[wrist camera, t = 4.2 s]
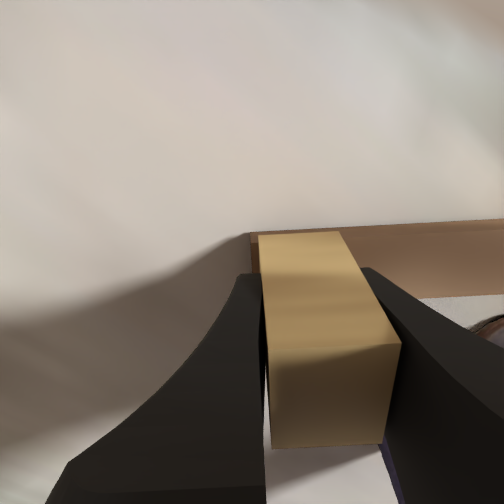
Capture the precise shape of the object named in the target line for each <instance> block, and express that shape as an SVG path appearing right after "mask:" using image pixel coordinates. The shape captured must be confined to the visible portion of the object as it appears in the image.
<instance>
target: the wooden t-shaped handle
mask: <svg viewBox="0 0 504 504" xmlns="http://www.w3.org/2000/svg"><path fill="white" fill-rule="evenodd" d="M250 241H251V260H252V273H261V279H262V289H263V314H264V338H265V362H266V379H267V392H268V406H269V419H270V432H271V446H272V449H288V448H307V447H327V446H346V445H366V444H382V441H383V436H384V431H385V425H386V420H387V415H388V410H389V405H390V400H391V395H392V390H393V385H394V380H395V375H396V369H397V364H398V359H399V354H400V349H401V344H402V343H401V341H400V339H399V337H398V335H397V334H396V332H395V330H394V328H393V327H392V325H391V323H390V321H389V320H388V318H387V316H386V314H385V312H384V311H383V309H382V307H381V305H380V304H379V302H378V300H377V298H376V297H375V295H374V293H373V291H372V289H371V288H370V286H369V284H368V282H367V281H366V279H365V277H364V275H363V274H362V272H361V270H360V268H364V267H370V268H372V269H373V270H375V271H377V272H378V273H380V274H381V275H383V276H384V277H385V278H387V279H388V280H390V281H391V282H393V283H394V284H396V285H397V286H398V287H400V288H401V289H403V290H404V291H406V292H407V293H409V294H410V295H412V296H413V297H415V298H416V299H421V298H440V297H459V296H478V295H497V294H504V219H491V220H472V221H453V222H434V223H415V224H397V225H378V226H359V227H340V228H321V229H302V230H284V231H265V232H250Z"/></svg>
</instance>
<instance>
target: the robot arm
mask: <svg viewBox="0 0 504 504" xmlns="http://www.w3.org/2000/svg"><path fill="white" fill-rule="evenodd" d="M360 270H361V272H362V274H363V275H364V277H365V279H366V281H367V282H368V284H369V286H370V288H371V289H372V291H373V293H374V295H375V297H376V298H377V300H378V302H379V304H380V305H381V307H382V309H383V311H384V312H385V314H386V316H387V318H388V320H389V321H390V323H391V325H392V327H393V328H394V330H395V332H396V334H397V335H398V337H399V339H400V341H401V343H402V344H401V349H400V354H399V359H398V364H397V369H396V375H395V380H394V385H393V390H392V395H391V400H390V405H389V410H388V415H387V420H386V425H385V431H384V435H385V438H386V441H387V444H388V447H389V451H390V454H391V457H392V460H393V464H394V467H395V470H396V473H397V477H398V480H399V483H400V487H401V490H402V494H403V497H404V501H405V504H504V348H502V347H500V346H498V345H496V344H494V343H492V342H490V341H488V340H486V339H484V338H482V337H480V336H478V335H476V334H474V333H473V332H471V331H469V330H467V329H465V328H463V327H462V326H460V325H458V324H456V323H455V322H453V321H451V320H450V319H448V318H446V317H445V316H443V315H441V314H439V313H438V312H436V311H435V310H433V309H431V308H430V307H428V306H427V305H425V304H424V303H422V302H421V301H419V300H418V299H416V298H415V297H413V296H412V295H410V294H409V293H407V292H406V291H404V290H403V289H401V288H400V287H398V286H397V285H396V284H394V283H393V282H391V281H390V280H388V279H387V278H385V277H384V276H383V275H381V274H380V273H378V272H377V271H375V270H373V269H372V268H370V267H364V268H360ZM265 365H266V362H265V338H264V314H263V289H262V279H261V273H251V274H240V275H239V276H238V277H237V279H236V282H235V285H234V287H233V290H232V292H231V294H230V296H229V298H228V300H227V302H226V304H225V305H224V307H223V309H222V311H221V312H220V314H219V316H218V318H217V319H216V321H215V322H214V324H213V325H212V327H211V328H210V330H209V331H208V333H207V334H206V336H205V337H204V339H203V340H202V341H201V343H200V344H199V345H198V347H197V348H196V349H195V350H194V352H193V353H192V354H191V355H190V356H189V358H188V359H187V360H186V361H185V362H184V364H183V365H182V366H181V367H180V368H179V369H178V370H177V371H176V372H175V373H174V374H173V375H172V377H171V378H170V379H169V380H168V381H167V382H166V383H165V384H164V385H163V386H162V387H161V388H160V389H159V390H158V391H157V392H156V393H155V394H154V395H153V396H151V397H150V398H149V399H148V400H147V401H146V402H145V403H144V404H142V405H141V406H140V407H139V408H138V409H137V410H136V411H135V412H133V413H132V414H131V415H130V416H129V417H128V418H127V419H125V420H124V421H123V422H122V423H121V424H119V425H118V426H117V427H116V428H114V429H113V430H112V431H110V432H109V433H108V434H106V435H105V436H104V437H102V438H101V439H99V440H98V441H97V442H95V443H94V444H93V445H91V446H90V447H89V448H87V449H86V450H85V451H83V452H82V453H81V454H79V455H78V456H76V457H75V458H74V459H72V460H71V461H69V462H68V463H67V465H66V467H65V469H64V470H63V472H62V474H61V476H60V478H59V480H58V481H57V483H56V484H55V486H54V488H53V489H52V491H51V493H50V495H49V497H48V499H47V501H46V503H45V504H266V485H265V466H264V448H263V425H264V396H265Z"/></svg>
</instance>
